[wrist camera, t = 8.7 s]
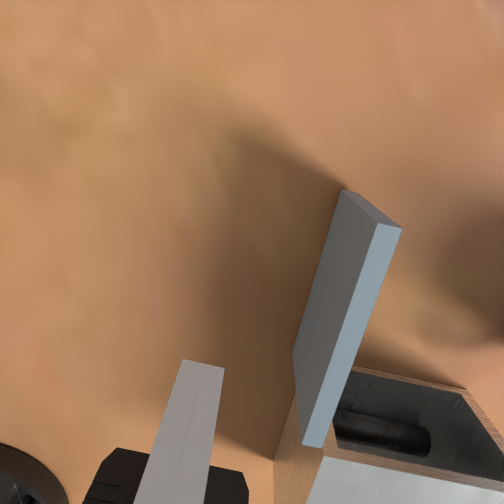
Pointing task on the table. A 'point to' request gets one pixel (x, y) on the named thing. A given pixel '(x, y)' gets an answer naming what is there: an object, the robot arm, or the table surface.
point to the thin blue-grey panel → (339, 309)
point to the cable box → (394, 447)
